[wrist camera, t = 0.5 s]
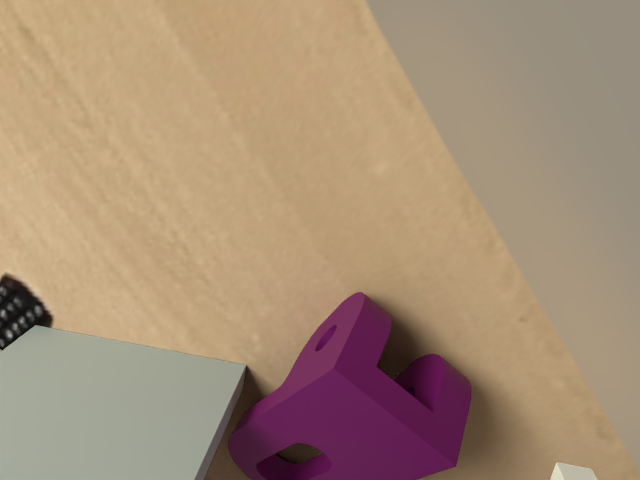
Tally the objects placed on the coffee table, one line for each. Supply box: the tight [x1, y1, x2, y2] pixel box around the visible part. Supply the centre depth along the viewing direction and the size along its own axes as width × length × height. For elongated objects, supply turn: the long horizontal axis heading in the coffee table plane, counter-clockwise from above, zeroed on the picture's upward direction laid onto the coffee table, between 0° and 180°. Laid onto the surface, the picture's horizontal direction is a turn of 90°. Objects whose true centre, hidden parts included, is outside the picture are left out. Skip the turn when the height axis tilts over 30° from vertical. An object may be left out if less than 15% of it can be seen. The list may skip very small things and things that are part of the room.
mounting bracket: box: [228, 292, 471, 480], centre depth 41 cm, size 10×8×18 cm
